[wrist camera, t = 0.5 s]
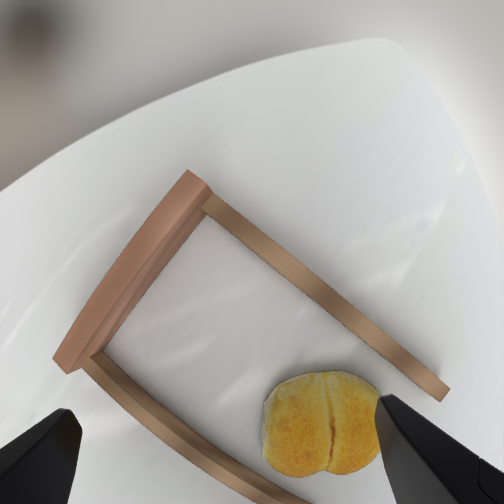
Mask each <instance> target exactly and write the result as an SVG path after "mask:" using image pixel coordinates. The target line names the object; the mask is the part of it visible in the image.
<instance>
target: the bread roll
mask: <svg viewBox="0 0 504 504" xmlns="http://www.w3.org/2000/svg"><path fill="white" fill-rule="evenodd" d="M379 397H381V395H380V393H379V392H378V391H377V390H376V389H375V388H374V387H373V386H372V385H371V384H370V383H368V382H367V381H366V380H364V379H362V378H360V377H359V376H355V375H353V374H350V373H348V372H344V371H343V372H342V371H328V372H323V373H321V372H312V373H305V374H301V375H298V376H295V377H293V378H290V379H288V380H286V381H285V382H283V383H280V384H279V385H278V386H276V387H275V389H274V390H273V391H272V392H271V394H270V395H269V396H268V398H267V399H266V400H265V402H264V408H263V415H262V428H261V437H262V442H261V457H263V458H265V459H266V460H267V462H268V463H269V464H270V466H272V467H273V468H274V469H275V470H276V471H278V472H280V473H282V474H284V475H287V476H291V477H296V478H301V477H305V476H309V475H312V474H315V473H317V472H319V471H322V470H325V471H328V472H330V473H333V474H336V475H345V474H349V473H352V472H355V471H358V470H360V469H361V468H363V467H365V466H366V465H368V464H369V463H370V462H371V461H372V460H373V459H374V458H375V457H376V455H377V454H378V453H379V451H380V450H381V449H380V444H379V440H378V436H377V431H376V427H375V422H374V415H375V410H376V405H377V400H378V398H379Z"/></svg>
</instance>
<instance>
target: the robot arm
mask: <svg viewBox="0 0 504 504" xmlns="http://www.w3.org/2000/svg"><path fill="white" fill-rule="evenodd" d="M374 422H375V427H376V431H377V436H378V440H379V444H380V449H381V454H382V458H383V463H384V467H385V470H386V473H387V476H388V479H389V482H390V485H391V488H392V491H393V494H394V497H395V500H396V502H397V504H504V473H503V472H501V471H500V470H498V469H497V468H495V467H494V466H492V465H491V464H489V463H488V462H486V461H485V460H483V459H482V458H480V459H479V456H478V455H476V454H475V453H473V452H472V451H470V450H469V449H468V448H466V447H465V446H463V445H462V444H461V443H459V442H458V441H456V440H455V439H454V438H452V437H451V436H449V435H448V434H447V433H445V432H444V431H443V430H441V429H440V428H438V427H437V426H436V425H434V424H433V423H432V422H430V421H429V420H427V419H426V418H425V417H423V416H422V415H421V414H419V413H418V412H416V411H415V410H414V409H412V408H411V407H410V406H408V405H407V404H406V403H404V402H403V401H402V400H400V399H399V398H398V397H396V396H395V395H393V394H389V395H385V396H381V397H379V398H378V400H377V405H376V410H375V415H374ZM81 438H82V427H81V425H80V424H79V422H78V420H77V419H76V417H75V415H74V414H73V412H72V411H71V410H69V409H63V408H59V409H57V410H56V411H54V412H53V413H51V414H50V415H49V416H47V417H46V418H44V419H43V420H41V421H40V422H39V423H37V424H36V425H34V426H33V427H31V428H30V429H29V430H27V431H26V432H24V433H23V434H21V435H20V436H18V437H17V438H16V439H14V440H13V441H11V442H10V443H8V444H7V445H5V446H4V447H2V448H1V449H0V504H67V503H68V499H69V495H70V491H71V487H72V483H73V480H74V476H75V472H76V466H77V460H78V455H79V449H80V443H81Z"/></svg>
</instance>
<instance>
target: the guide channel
mask: <svg viewBox="0 0 504 504" xmlns="http://www.w3.org/2000/svg"><path fill="white" fill-rule="evenodd" d="M206 214H208V215H209V216H210V217H211V218H213V219H214V220H215V221H216V222H217V223H219V224H220V225H221V226H222V227H224V228H225V229H226V230H227V231H229V232H230V233H231V234H232V235H234V236H235V237H236V238H237V239H238V240H240V241H241V242H242V243H243V244H245V245H246V246H247V247H248V248H250V249H251V250H252V251H253V252H254V253H256V254H257V255H258V256H259V257H261V258H262V259H263V260H264V261H266V262H267V263H268V264H269V265H270V266H272V267H273V268H274V269H275V270H277V271H278V272H279V273H280V274H282V275H283V276H284V277H285V278H287V279H288V280H289V281H290V282H291V283H293V284H294V285H295V286H296V287H298V288H299V289H300V290H301V291H303V292H304V293H305V294H306V295H307V296H309V297H310V298H311V299H312V300H314V301H315V302H316V303H317V304H319V305H320V306H321V307H322V308H323V309H325V310H326V311H327V312H328V313H330V314H331V315H332V316H333V317H335V318H336V319H337V320H338V321H339V322H341V323H342V324H343V325H344V326H346V327H347V328H348V329H349V330H351V331H352V332H353V333H354V334H355V335H357V336H358V337H359V338H360V339H362V340H363V341H364V342H365V343H366V344H368V345H369V346H370V347H371V348H373V349H374V350H375V351H376V352H378V353H379V354H380V355H381V356H382V357H384V358H385V359H386V360H387V361H389V362H390V363H391V364H392V365H394V366H395V367H396V368H397V369H398V370H400V371H401V372H402V373H403V374H405V375H406V376H407V377H408V378H409V379H411V380H412V381H413V382H414V383H416V384H417V385H418V386H419V387H421V388H422V389H423V390H424V391H425V392H427V393H428V394H429V395H431V396H432V397H433V398H435V399H436V400H437V401H439V402H441V401H442V400H443V398H444V397H445V396H446V394H447V393H448V392H449V390H450V388H449V387H448V386H447V385H446V384H444V383H443V382H442V381H441V380H440V379H439V378H437V377H436V376H435V375H434V374H433V373H432V372H431V371H429V370H428V369H427V368H426V367H425V366H424V365H422V364H421V363H420V362H419V361H418V360H417V359H415V358H414V357H413V356H412V355H411V354H410V353H408V352H407V351H406V350H405V349H404V348H403V347H401V346H400V345H399V344H398V343H397V342H395V341H394V340H393V339H392V338H391V337H390V336H388V335H387V334H386V333H385V332H384V331H382V330H381V329H380V328H379V327H378V326H376V325H375V324H374V323H373V322H372V321H371V320H369V319H368V318H367V317H366V316H365V315H363V314H362V313H361V312H360V311H359V310H357V309H356V308H355V307H354V306H353V305H351V304H350V303H349V302H348V301H347V300H345V299H344V298H343V297H342V296H341V295H339V294H338V293H337V292H336V291H334V290H333V289H332V288H331V287H330V286H328V285H327V284H326V283H325V282H324V281H322V280H321V279H320V278H319V277H317V276H316V275H315V274H314V273H313V272H311V271H310V270H309V269H308V268H306V267H305V266H304V265H303V264H301V263H300V262H299V261H298V260H297V259H295V258H294V257H293V256H292V255H290V254H289V253H288V252H287V251H285V250H284V249H283V248H282V247H281V246H279V245H278V244H277V243H276V242H274V241H273V240H272V239H271V238H269V237H268V236H267V235H266V234H264V233H263V232H262V231H261V230H259V229H258V228H257V227H256V226H254V225H253V224H252V223H251V222H249V221H248V220H247V219H246V218H244V217H243V216H242V215H241V214H239V213H238V212H237V211H235V210H234V209H233V208H232V207H230V206H229V205H228V204H227V203H225V202H224V201H223V200H222V199H220V198H219V197H218V196H216V195H215V194H214V193H213V192H212V191H211V189H210V188H209V186H208V185H207V184H206V183H205V182H204V181H202V180H201V179H200V178H198V177H197V176H196V175H195V174H193V173H192V172H191V171H189V170H188V169H187V171H186V172H185V173H184V174H183V175H182V176H181V178H180V179H179V180H178V181H177V182H176V184H175V185H174V186H173V187H172V188H171V190H170V191H169V192H168V193H167V195H166V196H165V197H164V198H163V200H162V201H161V202H160V203H159V205H158V206H157V207H156V208H155V210H154V211H153V212H152V213H151V215H150V216H149V217H148V218H147V220H146V221H145V222H144V224H143V225H142V226H141V228H140V229H139V230H138V231H137V233H136V234H135V235H134V237H133V238H132V239H131V241H130V242H129V243H128V245H127V246H126V248H125V249H124V250H123V252H122V253H121V254H120V256H119V257H118V258H117V260H116V261H115V263H114V264H113V265H112V267H111V268H110V270H109V271H108V273H107V274H106V275H105V277H104V278H103V280H102V281H101V283H100V284H99V286H98V287H97V288H96V290H95V291H94V293H93V294H92V296H91V297H90V299H89V300H88V302H87V303H86V305H85V306H84V308H83V309H82V311H81V313H80V314H79V316H78V317H77V319H76V320H75V322H74V323H73V325H72V327H71V328H70V330H69V331H68V333H67V335H66V336H65V338H64V340H63V341H62V343H61V344H60V346H59V348H58V349H57V351H56V353H55V354H54V356H53V358H52V359H53V360H54V361H55V362H56V363H57V364H58V366H59V367H60V368H61V369H62V370H63V371H64V372H65V373H66V374H69V373H71V372H73V371H76V370H78V369H80V368H82V369H83V370H84V371H85V372H86V373H87V374H88V375H89V376H90V377H91V378H92V379H93V380H94V381H95V382H96V383H97V384H98V385H99V386H100V387H101V388H102V389H103V390H104V391H105V392H107V393H108V394H109V395H110V396H111V397H112V398H113V399H114V400H115V401H116V402H117V403H118V404H119V405H120V406H122V407H123V408H124V409H125V410H126V411H127V412H128V413H129V414H131V415H132V416H133V417H134V418H135V419H136V420H138V421H139V422H140V423H141V424H142V425H143V426H145V427H146V428H147V429H148V430H149V431H151V432H152V433H153V434H154V435H156V436H157V437H158V438H159V439H161V440H162V441H163V442H165V443H166V444H167V445H168V446H170V447H171V448H172V449H174V450H175V451H176V452H178V453H179V454H180V455H182V456H183V457H185V458H186V459H187V460H189V461H190V462H191V463H193V464H194V465H196V466H197V467H199V468H200V469H202V470H203V471H205V472H206V473H208V474H209V475H211V476H212V477H214V478H215V479H217V480H218V481H220V482H221V483H223V484H225V485H226V486H228V487H229V488H231V489H233V490H234V491H236V492H238V493H239V494H241V495H243V496H244V497H246V498H248V499H250V500H251V501H253V502H255V503H257V504H310V503H308V502H306V501H304V500H302V499H300V498H298V497H296V496H294V495H293V494H291V493H289V492H287V491H285V490H284V489H282V488H280V487H278V486H276V485H275V484H273V483H271V482H270V481H268V480H266V479H265V478H263V477H261V476H260V475H258V474H256V473H255V472H253V471H252V470H250V469H248V468H247V467H245V466H244V465H242V464H241V463H239V462H237V461H236V460H234V459H233V458H231V457H230V456H228V455H227V454H226V453H224V452H223V451H221V450H220V449H218V448H217V447H215V446H214V445H213V444H211V443H210V442H208V441H207V440H206V439H204V438H203V437H202V436H200V435H199V434H197V433H196V432H195V431H193V430H192V429H191V428H190V427H188V426H187V425H186V424H184V423H183V422H182V421H180V420H179V419H178V418H177V417H175V416H174V415H173V414H172V413H170V412H169V411H168V410H167V409H166V408H164V407H163V406H162V405H161V404H160V403H158V402H157V401H156V400H155V399H154V398H152V397H151V396H150V395H149V394H148V393H147V392H146V391H144V390H143V389H142V388H141V387H140V386H139V385H138V384H136V383H135V382H134V381H133V380H132V379H131V378H130V377H129V376H128V375H127V374H126V373H125V372H123V371H122V370H121V369H120V368H119V367H118V366H117V365H116V364H115V363H114V362H113V361H112V360H111V359H110V358H109V357H108V356H107V355H106V354H105V353H104V352H103V350H104V348H105V347H106V345H107V344H108V342H109V341H110V340H111V338H112V337H113V335H114V334H115V333H116V331H117V330H118V329H119V327H120V326H121V324H122V323H123V322H124V320H125V319H126V318H127V316H128V315H129V313H130V312H131V311H132V309H133V308H134V307H135V305H136V304H137V303H138V301H139V300H140V299H141V297H142V296H143V295H144V293H145V292H146V291H147V289H148V288H149V287H150V285H151V284H152V283H153V281H154V280H155V279H156V277H157V276H158V275H159V274H160V272H161V271H162V270H163V268H164V267H165V266H166V265H167V263H168V262H169V261H170V259H171V258H172V257H173V256H174V254H175V253H176V252H177V250H178V249H179V248H180V247H181V245H182V244H183V243H184V242H185V240H186V239H187V238H188V237H189V235H190V234H191V233H192V232H193V230H194V229H195V228H196V227H197V225H198V224H199V223H200V222H201V221H202V219H203V218H204V217H205V216H206Z"/></svg>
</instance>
